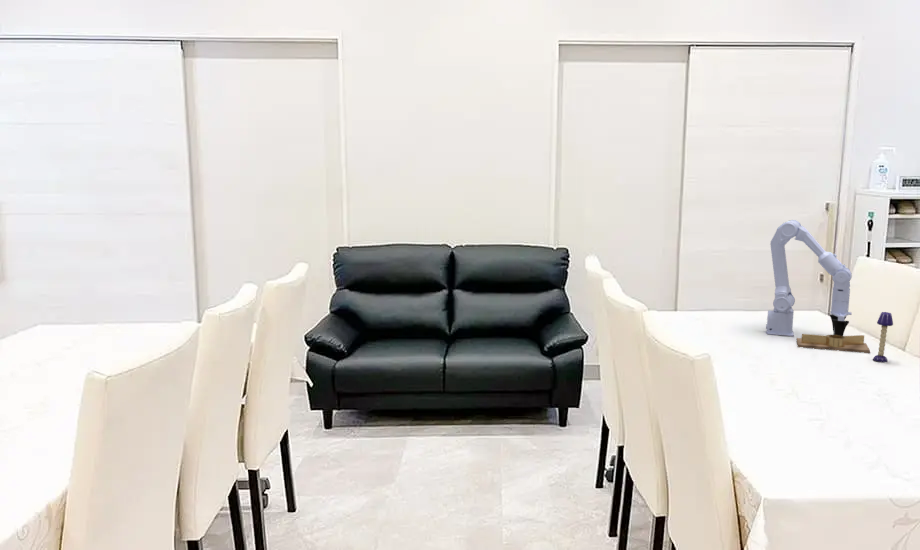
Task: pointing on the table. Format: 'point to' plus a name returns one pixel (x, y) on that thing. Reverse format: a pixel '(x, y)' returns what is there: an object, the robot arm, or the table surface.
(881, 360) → the toy lamp
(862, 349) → the board
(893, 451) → the table surface
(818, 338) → the hinge
